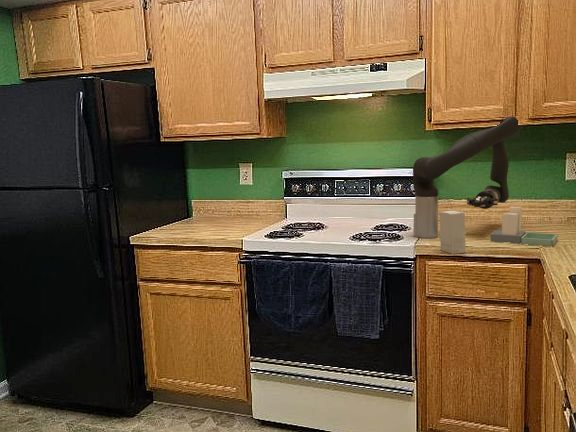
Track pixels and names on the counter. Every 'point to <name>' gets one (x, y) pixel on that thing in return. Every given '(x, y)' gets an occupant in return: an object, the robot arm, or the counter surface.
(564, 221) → the counter surface
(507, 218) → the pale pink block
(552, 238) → the tray
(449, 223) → the skincare box
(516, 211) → the beige rectangular block
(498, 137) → the robot arm
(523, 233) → the board
